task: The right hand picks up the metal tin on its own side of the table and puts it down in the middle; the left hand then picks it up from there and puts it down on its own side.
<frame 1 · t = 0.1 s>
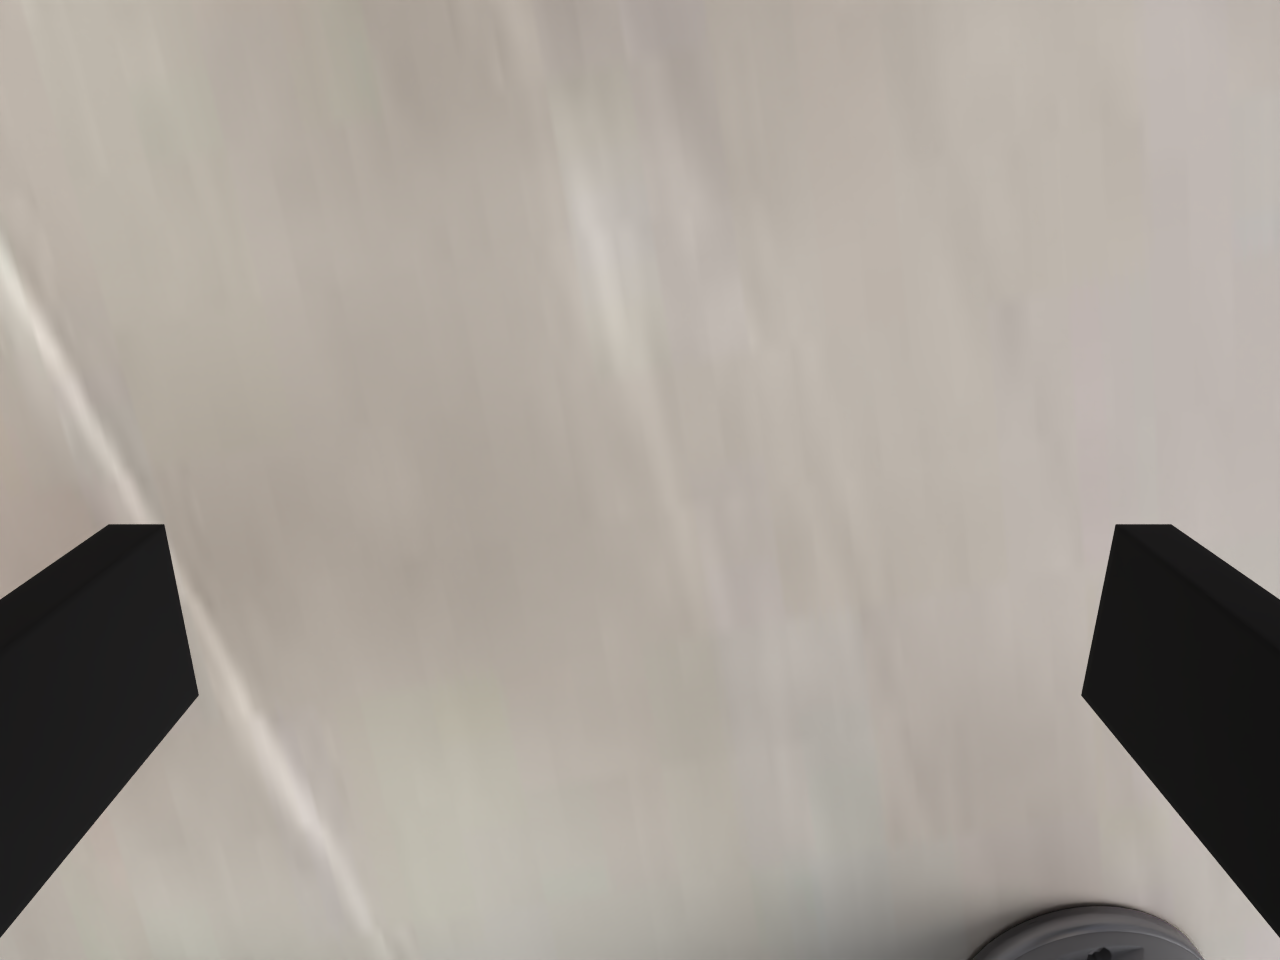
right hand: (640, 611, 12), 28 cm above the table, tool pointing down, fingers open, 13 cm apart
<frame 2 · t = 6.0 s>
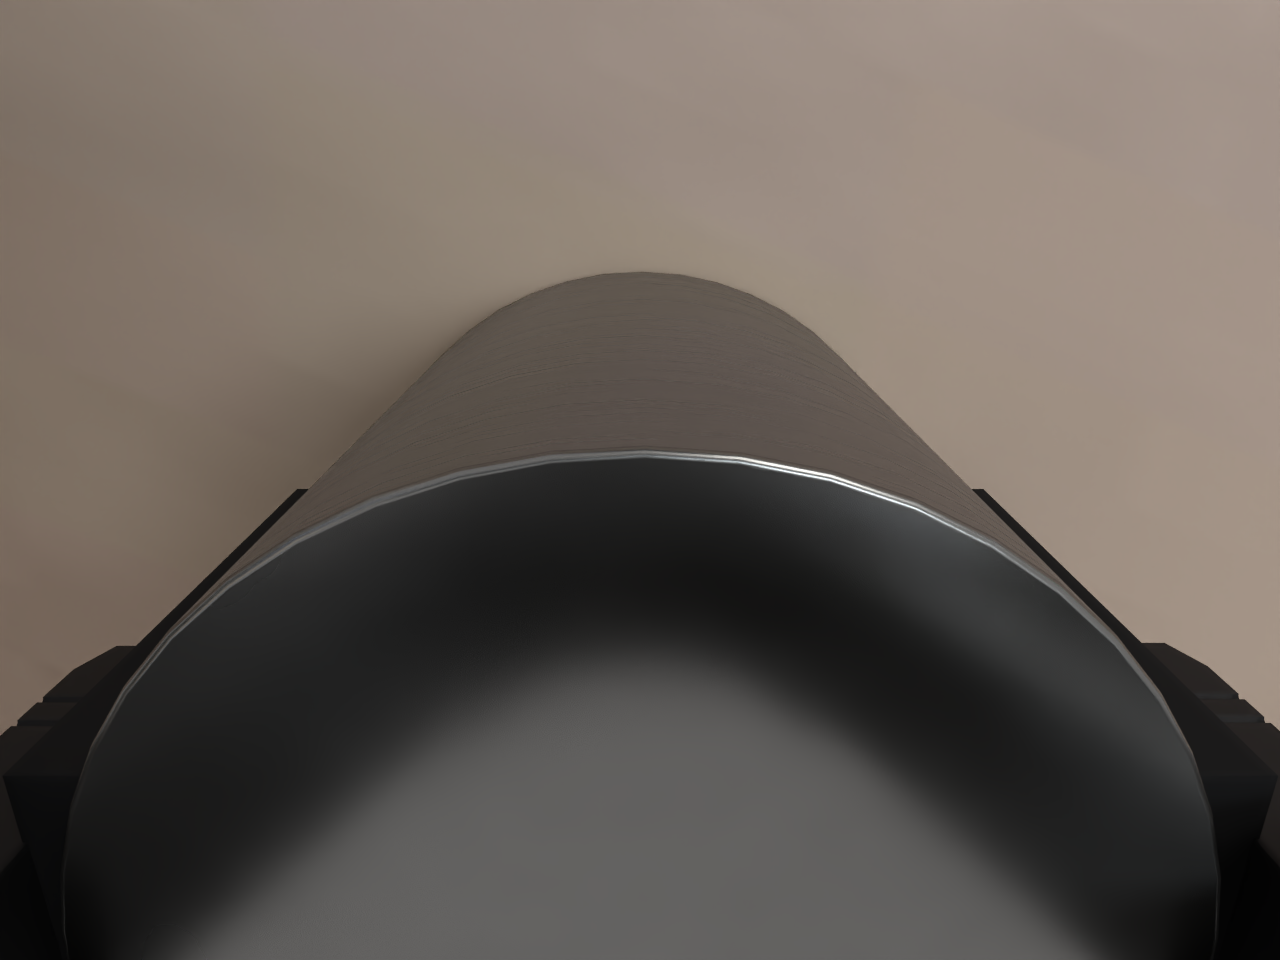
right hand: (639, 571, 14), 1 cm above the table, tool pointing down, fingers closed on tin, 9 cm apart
tin: (640, 536, 15), on the table, touching right hand
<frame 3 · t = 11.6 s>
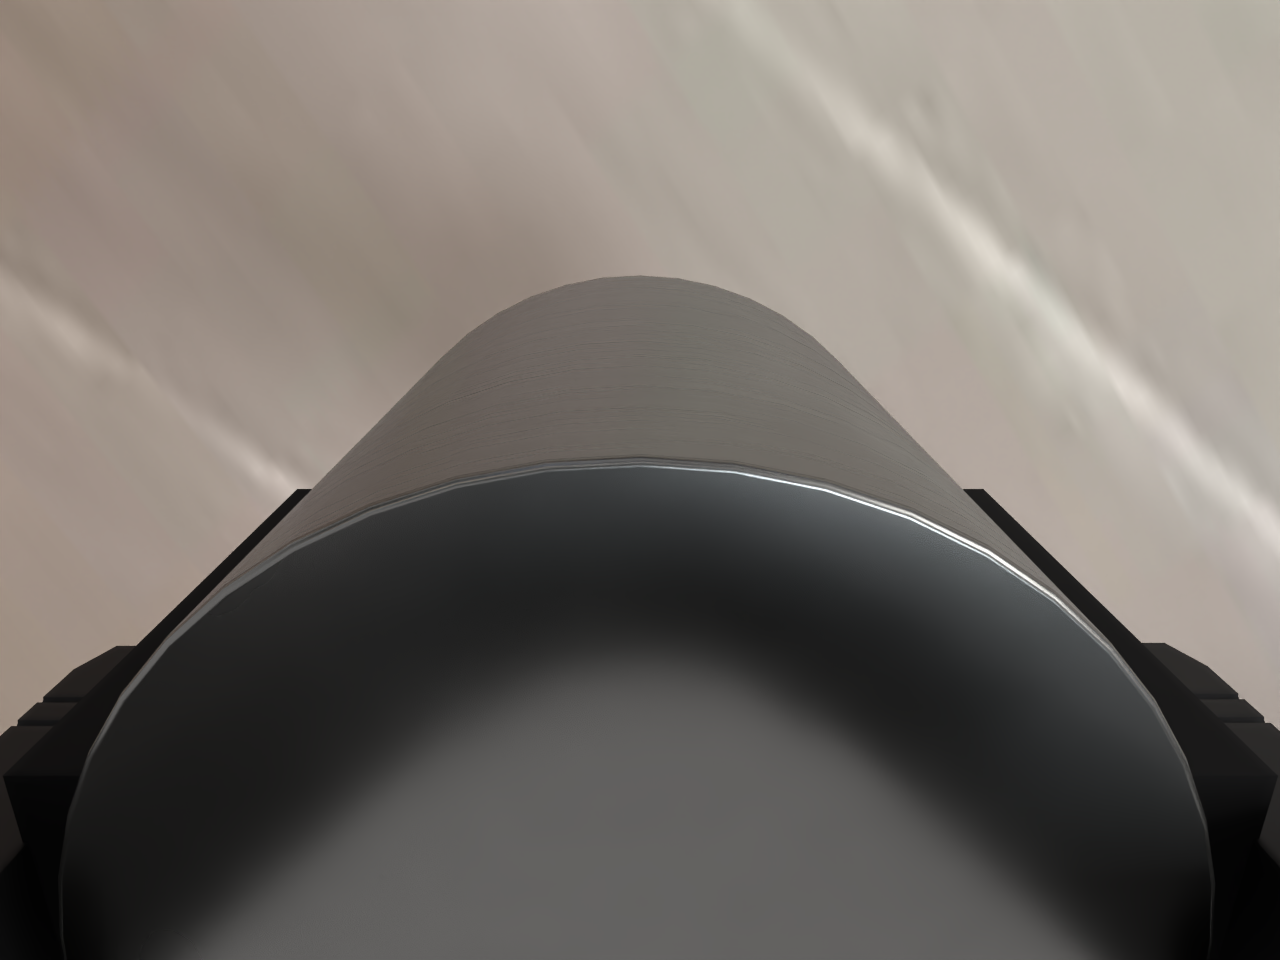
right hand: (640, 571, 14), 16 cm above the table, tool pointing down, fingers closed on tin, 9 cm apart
tin: (638, 539, 15), point 15 cm above the table, touching right hand
when the right hand's fingers open (3 cm above the table, at t = 17.4 s): tin drops 2 cm, on the table.
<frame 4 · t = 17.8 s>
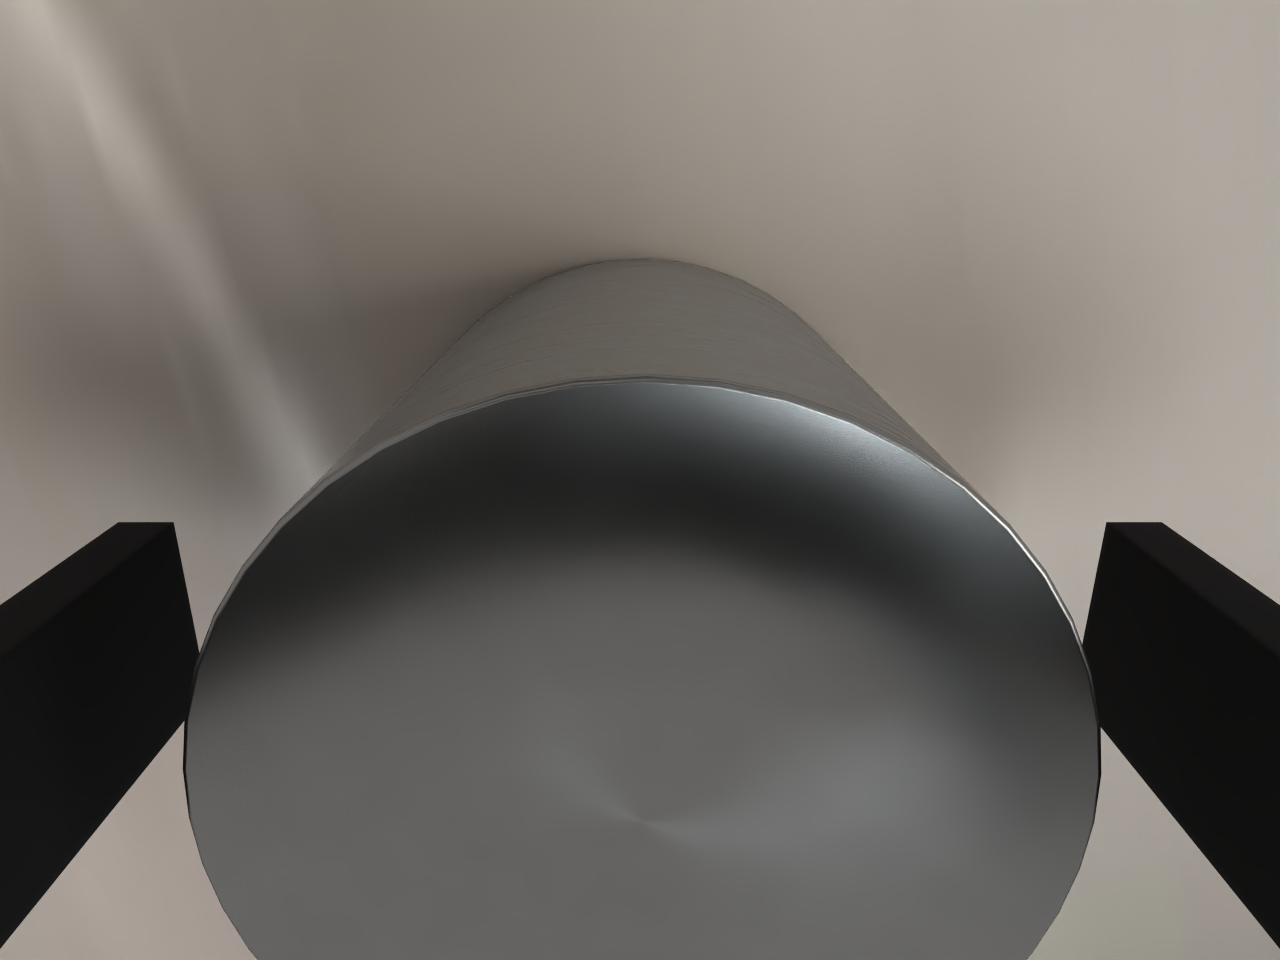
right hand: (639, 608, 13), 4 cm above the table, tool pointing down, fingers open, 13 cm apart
tin: (641, 497, 17), on the table
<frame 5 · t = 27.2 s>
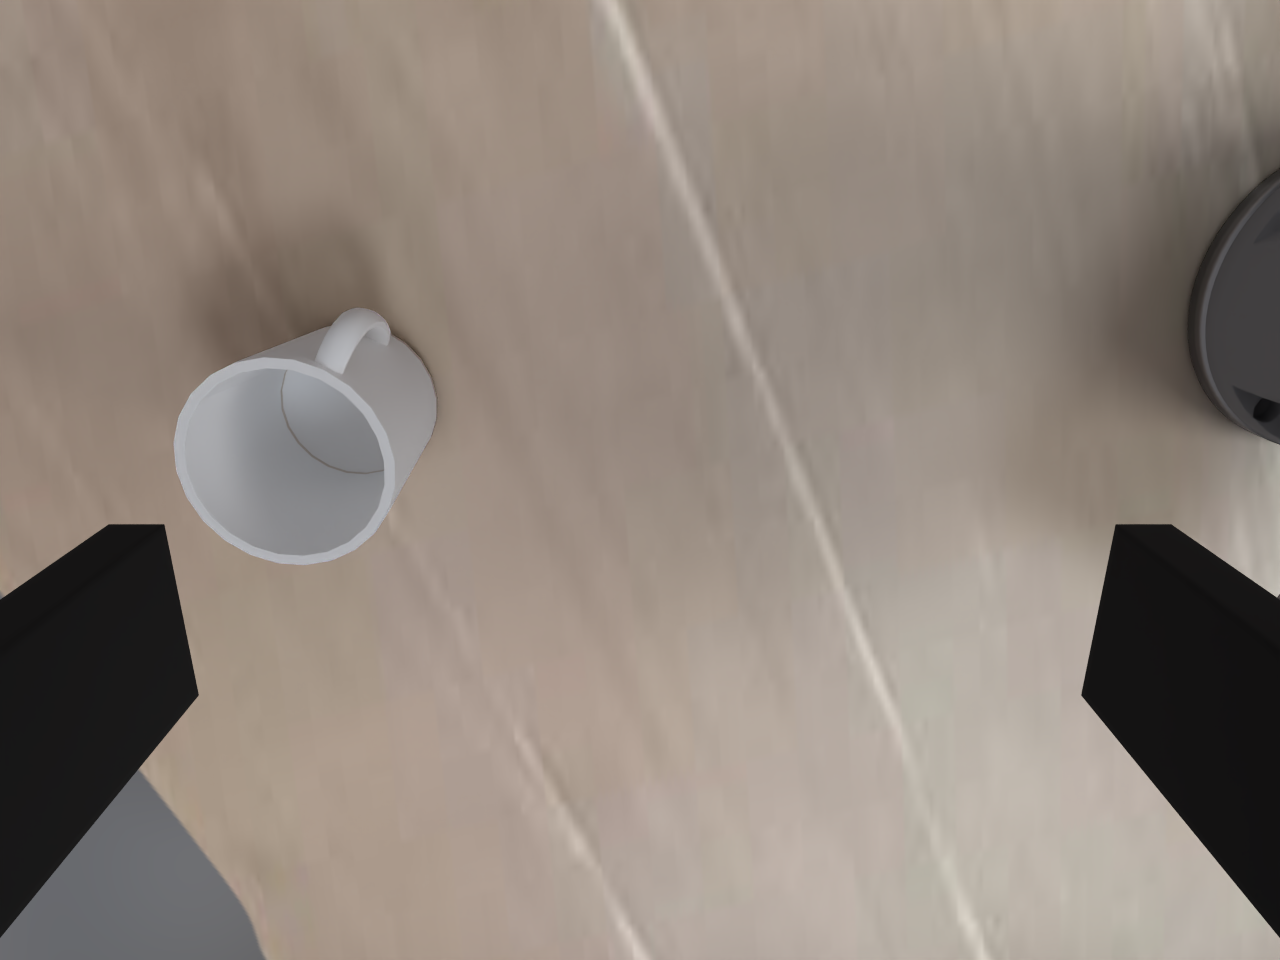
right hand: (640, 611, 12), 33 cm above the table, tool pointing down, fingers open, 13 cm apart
mug: (369, 381, 45), on the table
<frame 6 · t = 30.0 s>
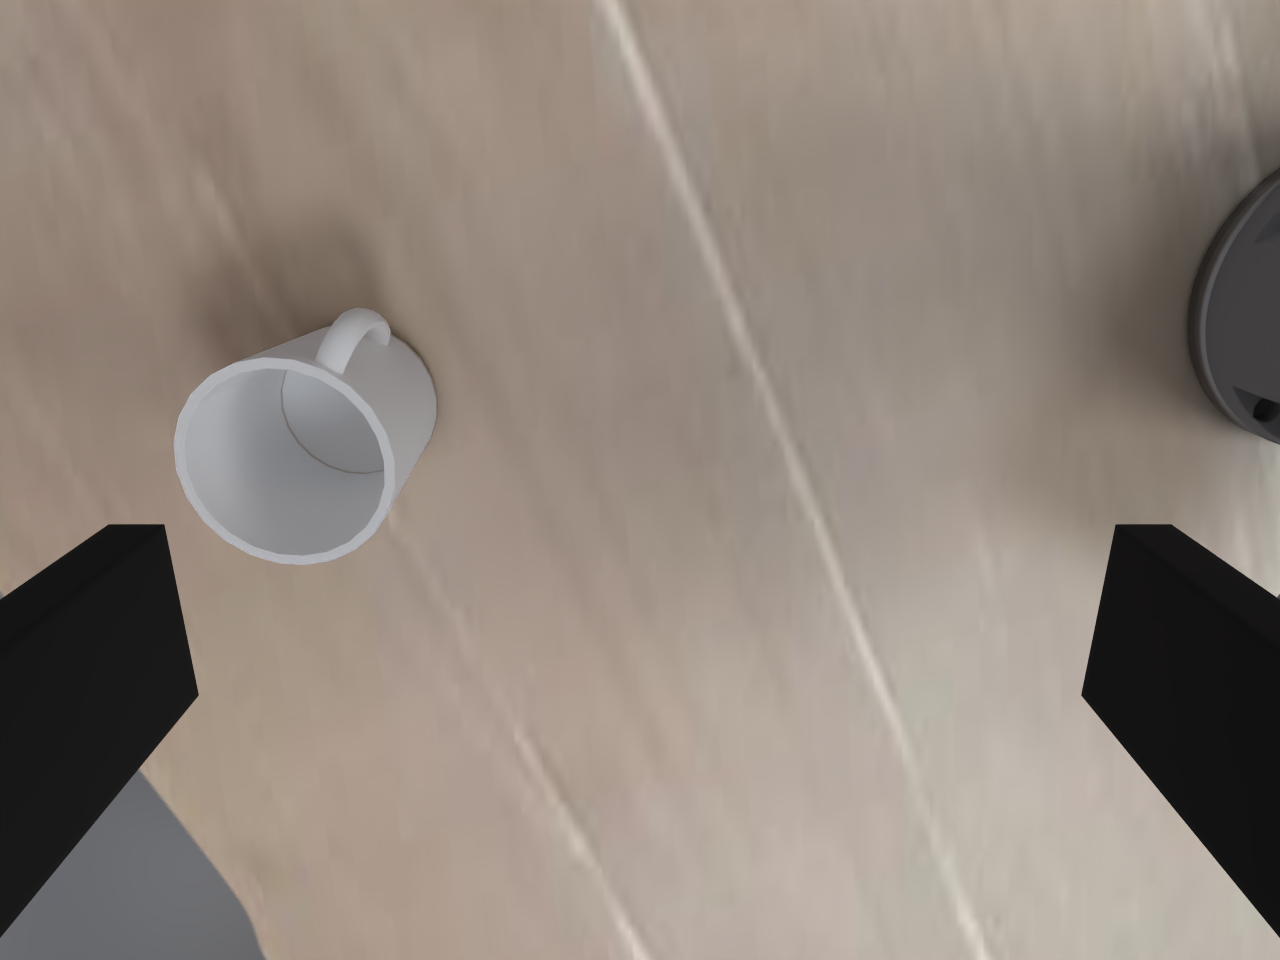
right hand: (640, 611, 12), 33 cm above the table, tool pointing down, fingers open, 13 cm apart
mug: (369, 381, 45), on the table
when the left hand's fingers open (3 cm above the table, at t = 33.0 s): tin drops 2 cm, on the table.
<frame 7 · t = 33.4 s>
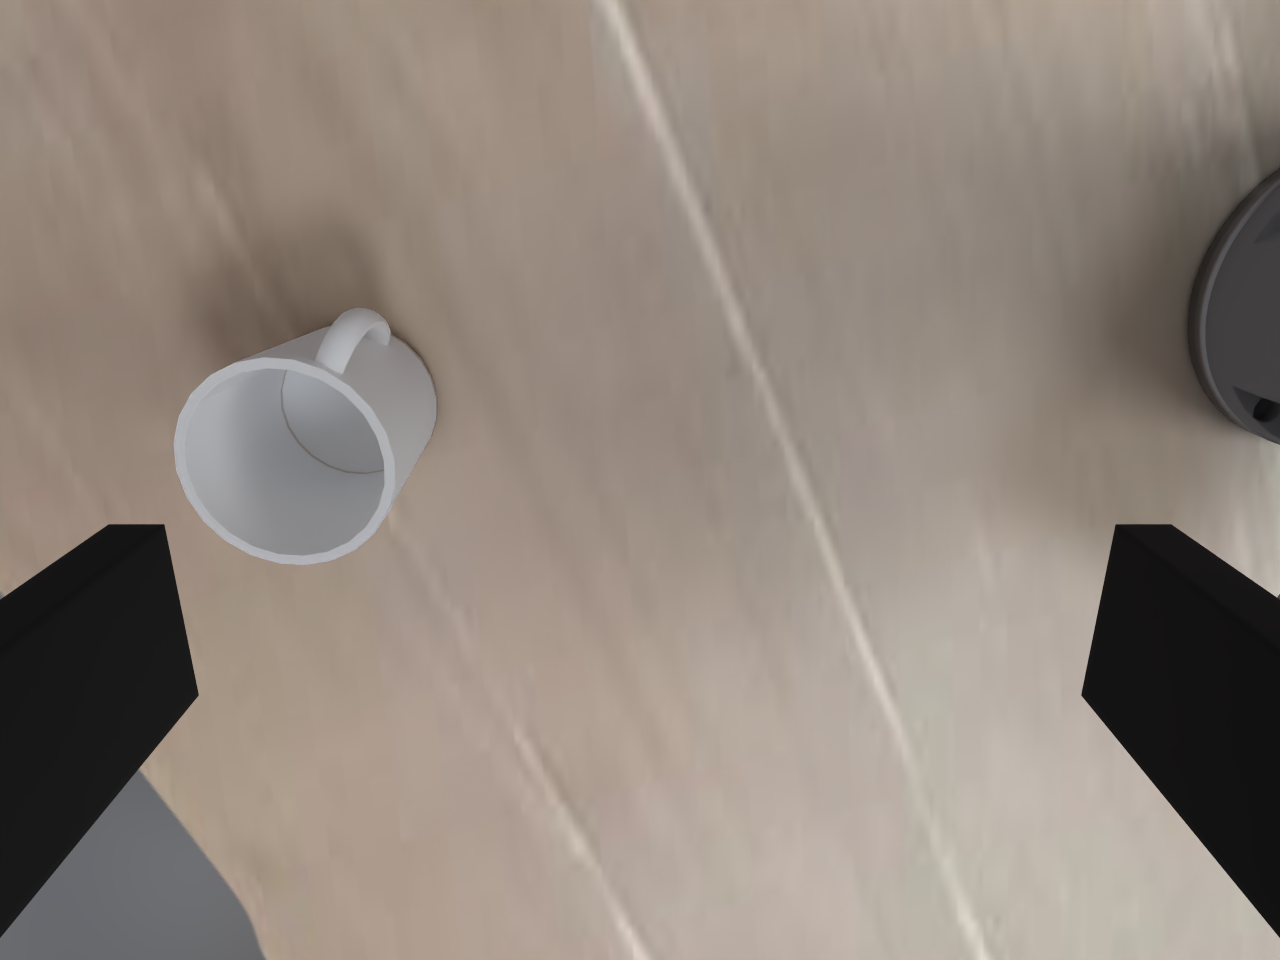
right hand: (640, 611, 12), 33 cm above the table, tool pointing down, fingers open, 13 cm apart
mug: (369, 381, 45), on the table
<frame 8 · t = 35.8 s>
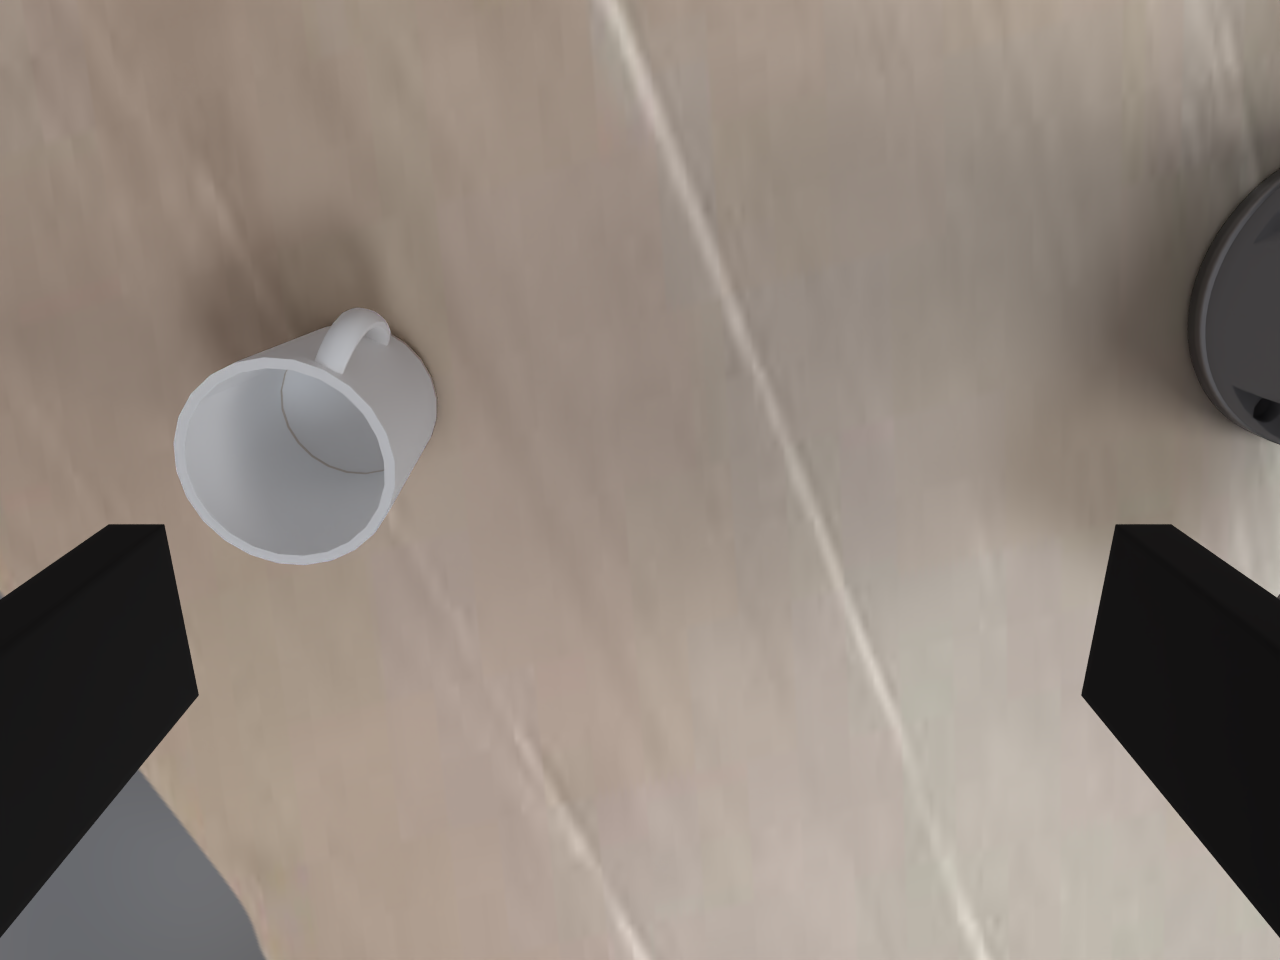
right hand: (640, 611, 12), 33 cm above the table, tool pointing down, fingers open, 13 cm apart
mug: (369, 381, 45), on the table
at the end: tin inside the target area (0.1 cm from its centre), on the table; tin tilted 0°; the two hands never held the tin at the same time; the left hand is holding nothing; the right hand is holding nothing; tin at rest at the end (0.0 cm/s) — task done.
